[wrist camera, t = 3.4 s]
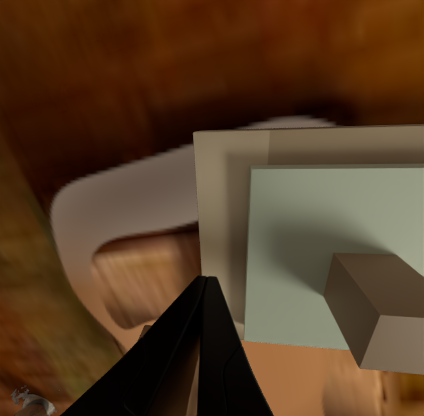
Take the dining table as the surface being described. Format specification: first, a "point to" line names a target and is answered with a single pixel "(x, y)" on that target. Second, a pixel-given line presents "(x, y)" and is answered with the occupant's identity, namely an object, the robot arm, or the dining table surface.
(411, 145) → the puzzle board
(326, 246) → the cover
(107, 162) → the dining table surface
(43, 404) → the vase
